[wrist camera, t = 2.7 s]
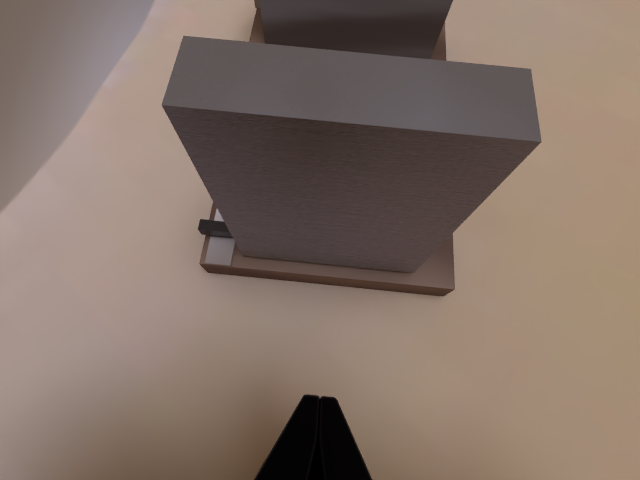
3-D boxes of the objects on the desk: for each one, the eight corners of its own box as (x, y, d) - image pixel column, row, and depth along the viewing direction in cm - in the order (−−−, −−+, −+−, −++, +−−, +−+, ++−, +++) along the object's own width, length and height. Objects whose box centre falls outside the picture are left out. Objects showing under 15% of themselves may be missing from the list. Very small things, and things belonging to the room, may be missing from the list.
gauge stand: (443, 296, 18) (534, 239, 11) (207, 272, 19) (139, 199, 11) (436, 36, 25) (491, -111, 17) (261, 19, 25) (241, -134, 18)
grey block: (413, 272, 17) (541, 141, 8) (199, 251, 17) (67, 95, 8) (414, 154, 19) (512, -57, 10) (226, 136, 19) (149, -90, 10)
